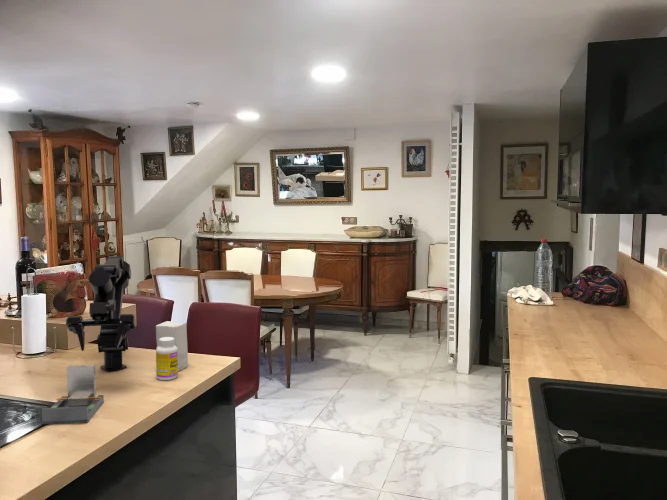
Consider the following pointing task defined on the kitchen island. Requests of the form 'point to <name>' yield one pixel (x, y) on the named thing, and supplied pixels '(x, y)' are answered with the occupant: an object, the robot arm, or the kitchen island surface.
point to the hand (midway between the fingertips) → (99, 349)
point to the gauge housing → (70, 412)
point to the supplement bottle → (166, 359)
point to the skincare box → (175, 339)
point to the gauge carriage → (80, 385)
